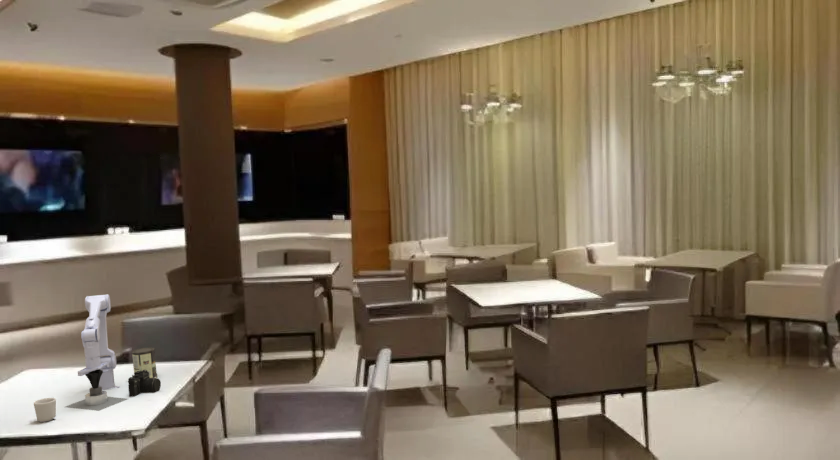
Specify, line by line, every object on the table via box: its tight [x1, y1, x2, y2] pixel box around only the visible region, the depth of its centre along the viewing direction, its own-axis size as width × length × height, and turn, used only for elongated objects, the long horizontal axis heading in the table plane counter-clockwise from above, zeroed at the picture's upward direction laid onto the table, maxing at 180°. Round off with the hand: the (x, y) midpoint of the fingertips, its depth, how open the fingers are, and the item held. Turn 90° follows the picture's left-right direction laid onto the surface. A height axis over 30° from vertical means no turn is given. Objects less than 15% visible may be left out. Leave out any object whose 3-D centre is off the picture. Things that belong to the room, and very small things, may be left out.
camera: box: [127, 370, 162, 398], centre depth 316 cm, size 14×11×10 cm
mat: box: [64, 396, 128, 412], centre depth 304 cm, size 20×16×1 cm
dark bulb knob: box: [89, 386, 103, 395], centre depth 304 cm, size 5×5×6 cm
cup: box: [33, 397, 57, 423], centre depth 289 cm, size 11×8×8 cm
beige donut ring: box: [84, 390, 108, 406], centre depth 304 cm, size 8×8×4 cm
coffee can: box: [131, 347, 158, 378], centre depth 342 cm, size 10×10×14 cm
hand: (95, 388), depth 303 cm, fingers closed, pressing on dark bulb knob
